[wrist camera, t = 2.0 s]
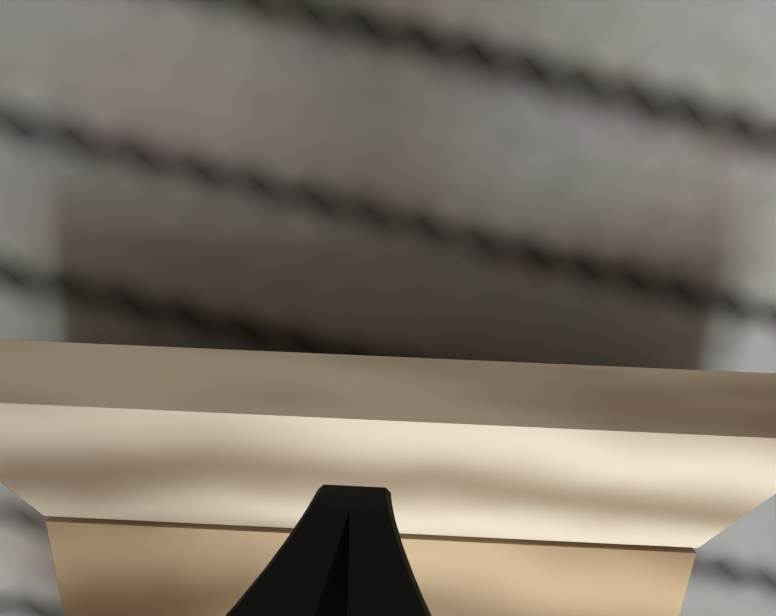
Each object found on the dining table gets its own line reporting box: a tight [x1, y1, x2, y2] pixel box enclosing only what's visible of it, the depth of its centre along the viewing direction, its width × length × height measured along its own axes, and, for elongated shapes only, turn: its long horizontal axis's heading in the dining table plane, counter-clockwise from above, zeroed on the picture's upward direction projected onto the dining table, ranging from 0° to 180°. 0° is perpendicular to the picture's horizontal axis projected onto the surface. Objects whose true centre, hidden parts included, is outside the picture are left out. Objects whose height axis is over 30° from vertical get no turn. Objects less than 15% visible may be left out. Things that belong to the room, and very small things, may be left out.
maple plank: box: [0, 340, 776, 548], centre depth 16 cm, size 8×24×2 cm, turn 88°
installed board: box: [46, 516, 696, 616], centre depth 21 cm, size 9×24×2 cm, turn 88°
